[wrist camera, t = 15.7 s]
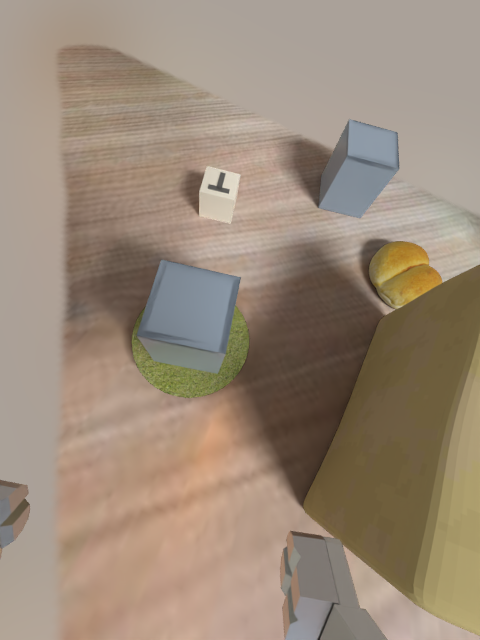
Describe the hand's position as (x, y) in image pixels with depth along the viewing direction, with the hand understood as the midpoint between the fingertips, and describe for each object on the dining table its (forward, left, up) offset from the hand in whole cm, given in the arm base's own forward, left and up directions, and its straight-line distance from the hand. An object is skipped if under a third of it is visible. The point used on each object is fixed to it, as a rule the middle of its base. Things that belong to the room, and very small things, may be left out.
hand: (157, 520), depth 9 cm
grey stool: (+2, -11, -16) cm, 19 cm away
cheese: (-18, -7, -18) cm, 26 cm away
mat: (+2, -11, -18) cm, 21 cm away
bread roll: (-22, -24, -18) cm, 37 cm away
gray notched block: (-13, -36, -18) cm, 42 cm away
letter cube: (+3, -29, -18) cm, 34 cm away
